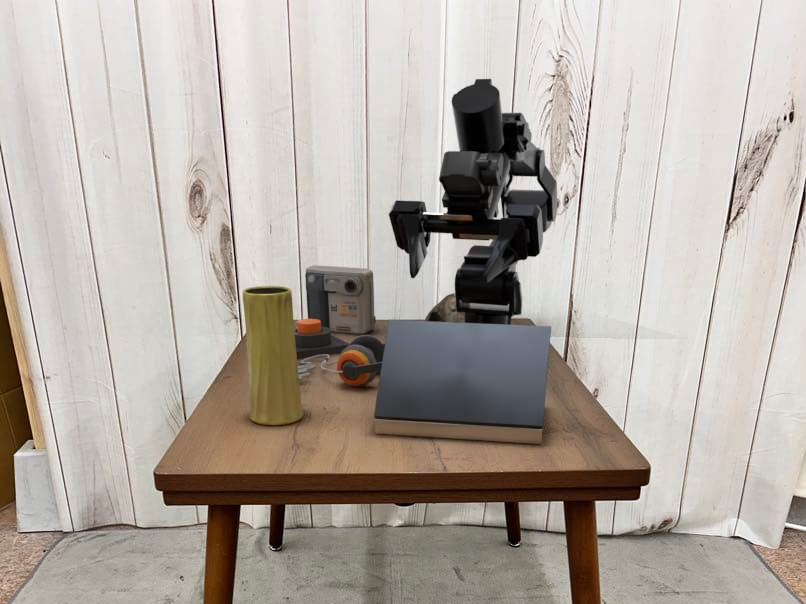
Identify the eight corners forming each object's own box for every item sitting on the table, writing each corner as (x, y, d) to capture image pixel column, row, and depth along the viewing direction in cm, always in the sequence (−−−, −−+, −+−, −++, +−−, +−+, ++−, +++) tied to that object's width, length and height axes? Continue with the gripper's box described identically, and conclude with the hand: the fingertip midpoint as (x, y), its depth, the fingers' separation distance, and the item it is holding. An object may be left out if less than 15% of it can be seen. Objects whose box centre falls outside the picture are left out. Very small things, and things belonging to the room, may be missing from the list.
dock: (329, 341, 123) (328, 322, 122) (351, 352, 117) (350, 332, 116) (269, 348, 119) (267, 328, 117) (289, 360, 113) (288, 339, 111)
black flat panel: (389, 324, 88) (388, 319, 87) (550, 330, 85) (551, 326, 84) (375, 419, 85) (373, 416, 84) (542, 430, 82) (542, 426, 81)
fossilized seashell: (492, 318, 127) (460, 317, 136) (473, 283, 124) (441, 284, 132) (460, 347, 126) (429, 344, 134) (440, 313, 122) (409, 312, 131)
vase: (252, 409, 93) (241, 285, 86) (304, 408, 93) (296, 284, 87) (247, 426, 87) (235, 295, 81) (302, 425, 88) (294, 294, 81)
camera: (302, 330, 130) (299, 267, 125) (319, 324, 134) (316, 263, 130) (364, 337, 126) (363, 272, 121) (379, 329, 131) (378, 267, 126)
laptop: (395, 401, 96) (395, 387, 95) (543, 409, 93) (544, 395, 92) (375, 433, 85) (375, 418, 85) (541, 444, 83) (542, 429, 82)
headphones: (295, 341, 112) (429, 313, 107) (305, 376, 114) (437, 351, 109) (255, 373, 97) (409, 343, 92) (268, 413, 99) (419, 386, 94)
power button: (315, 329, 119) (314, 317, 118) (325, 334, 116) (324, 322, 115) (293, 332, 117) (292, 320, 117) (302, 336, 115) (302, 324, 114)
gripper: (398, 129, 95) (359, 219, 89) (550, 129, 89) (519, 226, 83) (415, 205, 105) (381, 291, 99) (553, 210, 99) (526, 301, 93)
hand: (447, 277), depth 93 cm, fingers open, 9 cm apart
